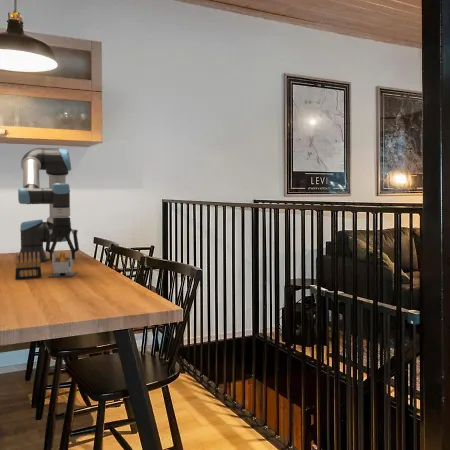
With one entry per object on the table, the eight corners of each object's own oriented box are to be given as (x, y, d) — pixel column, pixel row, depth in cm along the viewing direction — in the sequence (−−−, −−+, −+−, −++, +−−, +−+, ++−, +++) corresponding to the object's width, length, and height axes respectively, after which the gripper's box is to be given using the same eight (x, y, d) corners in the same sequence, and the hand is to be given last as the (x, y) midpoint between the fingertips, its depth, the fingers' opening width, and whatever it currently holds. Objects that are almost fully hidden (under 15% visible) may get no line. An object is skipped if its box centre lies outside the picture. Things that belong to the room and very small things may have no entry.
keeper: (54, 273, 224) (54, 250, 223) (76, 273, 225) (76, 250, 224) (48, 277, 212) (47, 253, 211) (71, 277, 213) (70, 253, 212)
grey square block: (57, 270, 221) (57, 260, 221) (71, 270, 222) (71, 260, 222) (53, 273, 215) (53, 262, 214) (68, 272, 215) (68, 261, 215)
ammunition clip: (15, 279, 207) (14, 252, 206) (15, 279, 209) (14, 252, 208) (41, 277, 212) (40, 251, 211) (41, 277, 213) (40, 250, 213)
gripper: (36, 217, 212) (37, 268, 213) (82, 217, 214) (83, 267, 216) (41, 216, 219) (42, 265, 221) (85, 216, 222) (86, 265, 223)
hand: (62, 266), depth 218 cm, fingers open, 7 cm apart
